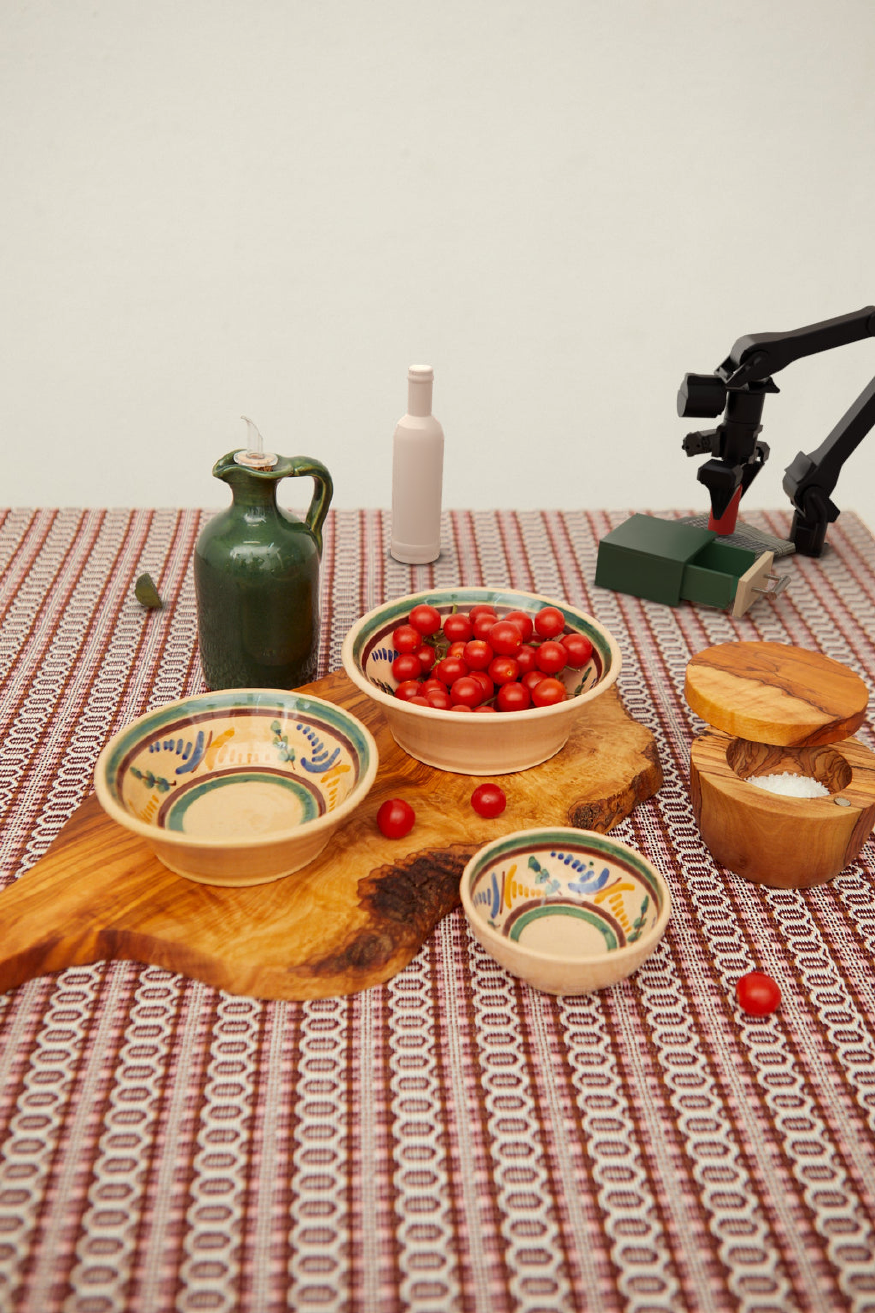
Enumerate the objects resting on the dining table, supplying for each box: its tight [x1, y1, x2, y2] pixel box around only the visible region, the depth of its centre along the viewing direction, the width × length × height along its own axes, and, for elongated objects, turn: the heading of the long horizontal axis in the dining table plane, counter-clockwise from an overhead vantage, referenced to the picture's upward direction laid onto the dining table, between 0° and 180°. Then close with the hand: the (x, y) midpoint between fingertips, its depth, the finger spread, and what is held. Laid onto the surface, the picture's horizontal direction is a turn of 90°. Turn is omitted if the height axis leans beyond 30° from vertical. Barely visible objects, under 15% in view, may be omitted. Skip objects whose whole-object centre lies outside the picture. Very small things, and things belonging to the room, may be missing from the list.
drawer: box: [680, 540, 792, 618], centre depth 163 cm, size 16×13×6 cm
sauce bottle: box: [708, 484, 742, 535], centre depth 180 cm, size 4×4×10 cm
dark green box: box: [593, 512, 717, 609], centre depth 168 cm, size 13×14×7 cm
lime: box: [133, 572, 164, 609], centre depth 154 cm, size 4×5×5 cm
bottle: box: [389, 363, 445, 565], centre depth 168 cm, size 8×8×30 cm
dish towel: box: [668, 511, 796, 562], centre depth 183 cm, size 19×18×3 cm
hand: (725, 511), depth 181 cm, fingers open, 9 cm apart
